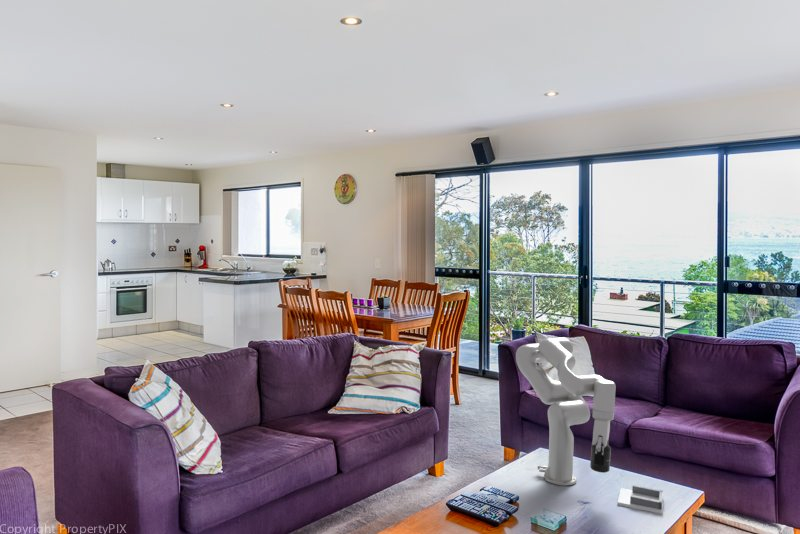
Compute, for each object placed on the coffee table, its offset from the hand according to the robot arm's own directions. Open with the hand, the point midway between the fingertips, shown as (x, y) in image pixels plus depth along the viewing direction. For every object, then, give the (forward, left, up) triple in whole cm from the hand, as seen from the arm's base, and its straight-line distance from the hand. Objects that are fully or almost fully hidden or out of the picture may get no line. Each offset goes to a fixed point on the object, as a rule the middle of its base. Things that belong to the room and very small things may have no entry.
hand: (600, 460), depth 214 cm
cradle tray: (+14, +8, -15) cm, 22 cm away
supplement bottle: (0, 0, -4) cm, 4 cm away
